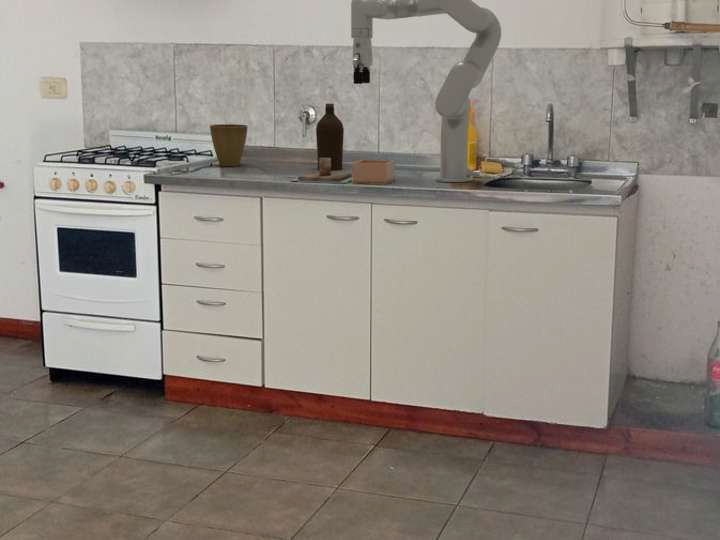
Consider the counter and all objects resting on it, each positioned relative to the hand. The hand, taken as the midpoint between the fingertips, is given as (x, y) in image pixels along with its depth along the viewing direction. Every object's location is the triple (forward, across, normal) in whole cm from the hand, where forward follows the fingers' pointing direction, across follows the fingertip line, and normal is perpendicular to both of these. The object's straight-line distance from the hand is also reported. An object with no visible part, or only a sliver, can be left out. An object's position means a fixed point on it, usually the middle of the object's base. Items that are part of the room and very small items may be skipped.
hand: (361, 83), depth 373 cm
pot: (+33, -13, -8) cm, 37 cm away
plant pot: (+34, +24, +61) cm, 74 cm away
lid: (+33, -12, +10) cm, 36 cm away
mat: (+33, -12, +10) cm, 37 cm away
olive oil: (+34, +23, +19) cm, 45 cm away
